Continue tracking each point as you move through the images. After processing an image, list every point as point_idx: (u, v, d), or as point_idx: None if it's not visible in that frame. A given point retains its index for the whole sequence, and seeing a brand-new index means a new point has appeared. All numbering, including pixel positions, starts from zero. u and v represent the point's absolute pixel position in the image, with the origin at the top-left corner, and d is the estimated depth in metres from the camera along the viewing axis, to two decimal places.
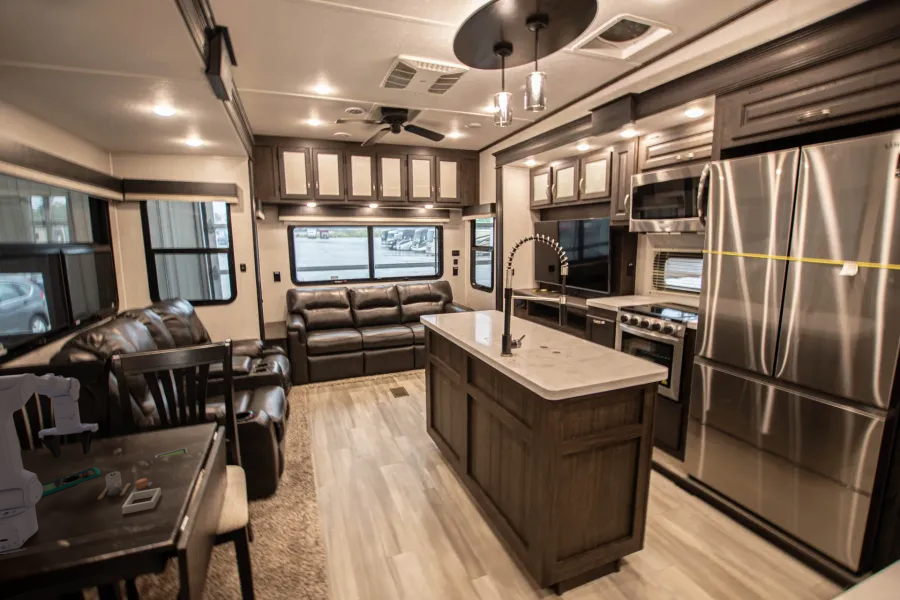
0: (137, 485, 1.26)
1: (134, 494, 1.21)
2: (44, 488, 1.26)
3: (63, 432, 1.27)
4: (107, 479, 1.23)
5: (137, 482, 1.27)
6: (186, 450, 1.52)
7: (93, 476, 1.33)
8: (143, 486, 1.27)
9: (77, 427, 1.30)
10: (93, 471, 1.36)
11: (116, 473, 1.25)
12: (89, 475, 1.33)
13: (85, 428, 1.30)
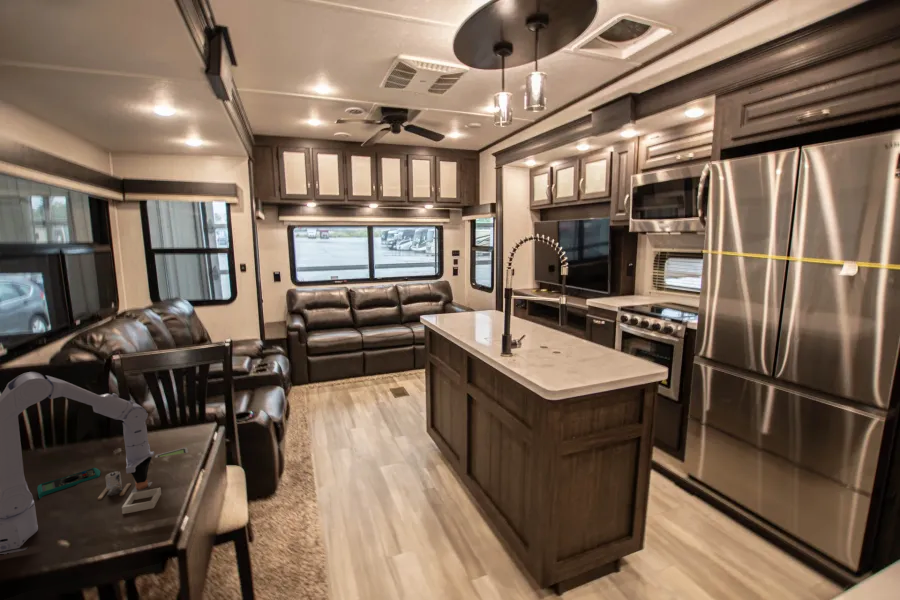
0: (137, 485, 1.26)
1: (134, 494, 1.21)
2: (44, 488, 1.27)
3: None
4: (107, 479, 1.23)
5: None
6: (186, 450, 1.52)
7: (92, 477, 1.32)
8: (143, 486, 1.27)
9: (131, 459, 1.23)
10: (93, 472, 1.35)
11: (116, 473, 1.25)
12: (88, 476, 1.33)
13: None
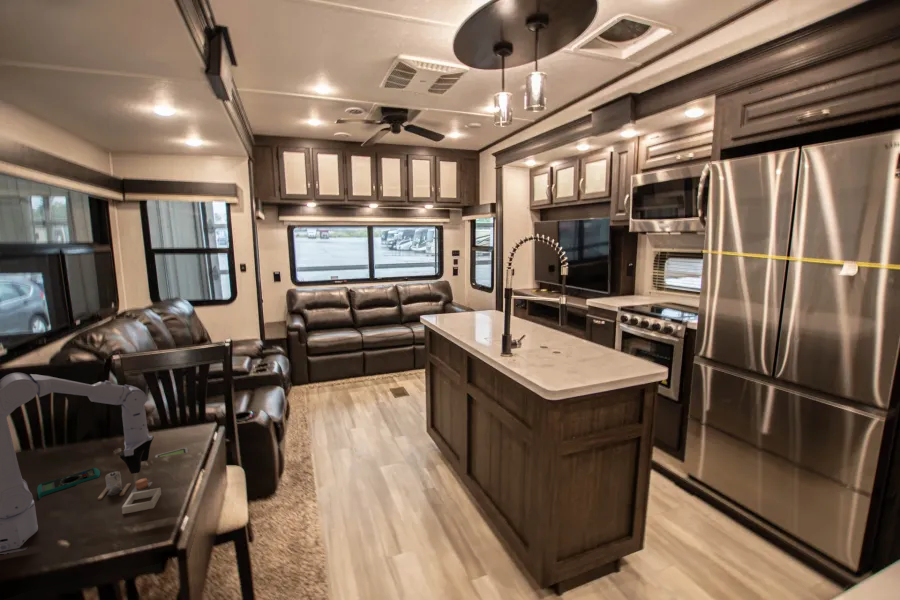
0: (137, 485, 1.26)
1: (134, 494, 1.21)
2: (43, 488, 1.27)
3: None
4: (107, 479, 1.23)
5: (137, 482, 1.27)
6: (186, 450, 1.52)
7: (91, 478, 1.32)
8: (143, 486, 1.27)
9: (129, 443, 1.23)
10: (93, 472, 1.35)
11: (116, 473, 1.25)
12: (88, 476, 1.33)
13: (125, 448, 1.20)
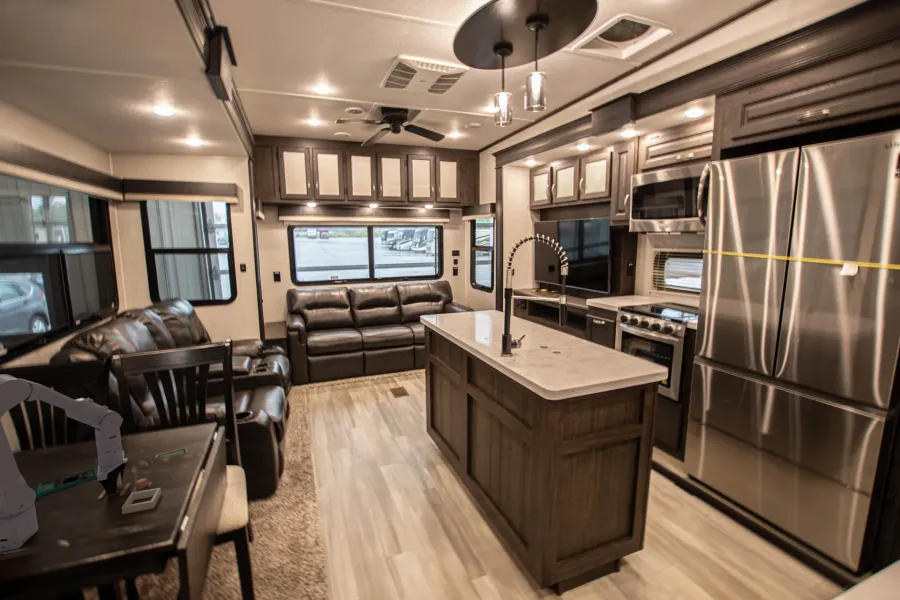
0: (137, 485, 1.26)
1: (134, 494, 1.21)
2: (43, 488, 1.27)
3: None
4: None
5: (137, 482, 1.27)
6: (186, 450, 1.52)
7: (91, 478, 1.32)
8: (143, 486, 1.27)
9: (103, 466, 1.21)
10: (92, 472, 1.35)
11: None
12: (87, 477, 1.32)
13: (98, 472, 1.19)
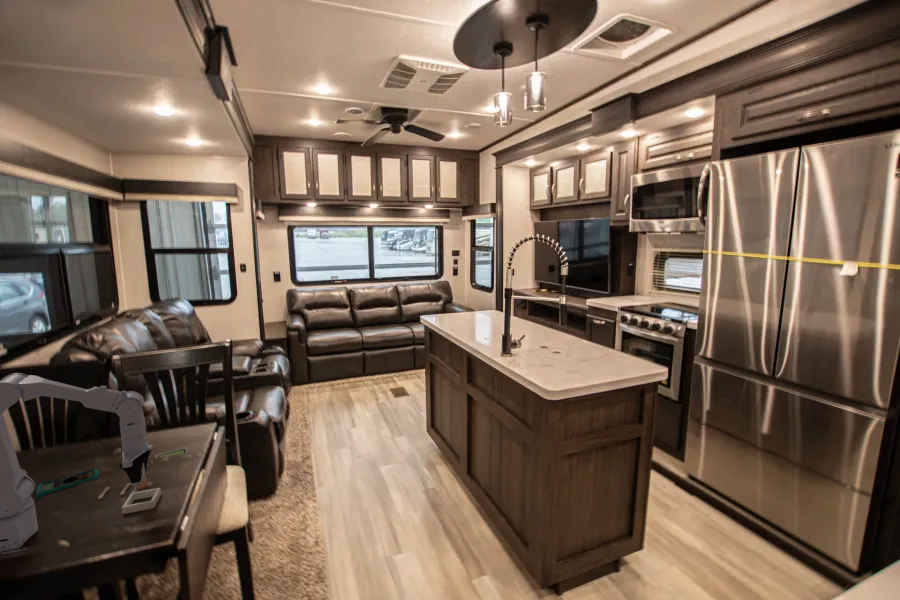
0: (137, 485, 1.26)
1: (134, 494, 1.21)
2: (43, 488, 1.27)
3: None
4: None
5: None
6: (186, 450, 1.52)
7: (90, 479, 1.31)
8: (143, 486, 1.27)
9: (127, 453, 1.15)
10: (92, 473, 1.35)
11: None
12: (87, 477, 1.32)
13: (123, 459, 1.12)
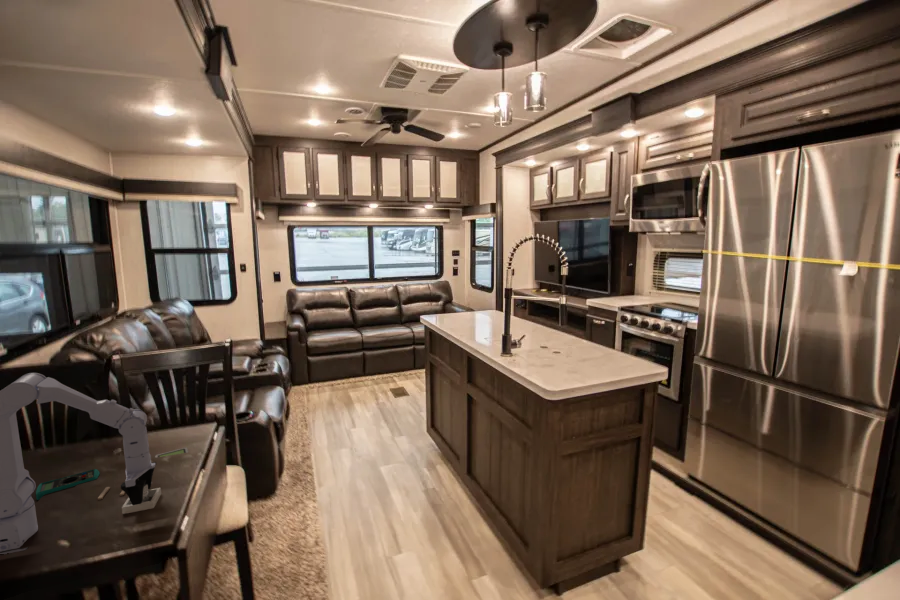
0: None
1: None
2: (43, 487, 1.27)
3: None
4: None
5: None
6: (186, 450, 1.52)
7: (89, 479, 1.31)
8: None
9: (131, 472, 1.15)
10: (92, 473, 1.34)
11: None
12: (86, 478, 1.32)
13: (126, 478, 1.13)
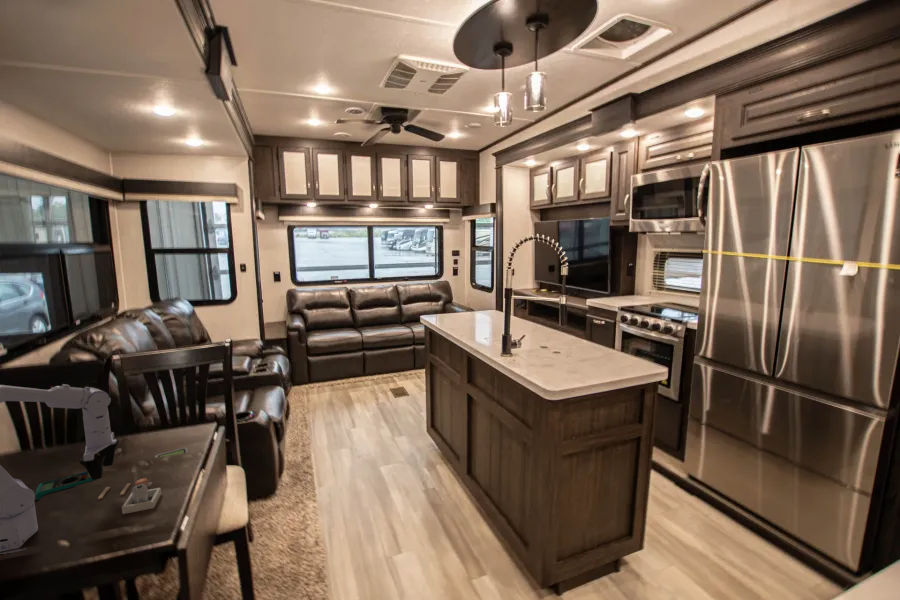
0: None
1: None
2: (42, 487, 1.27)
3: None
4: (133, 492, 1.17)
5: (137, 482, 1.27)
6: (186, 450, 1.52)
7: (88, 480, 1.31)
8: None
9: (90, 447, 1.17)
10: None
11: (143, 486, 1.19)
12: (86, 478, 1.31)
13: (85, 452, 1.15)
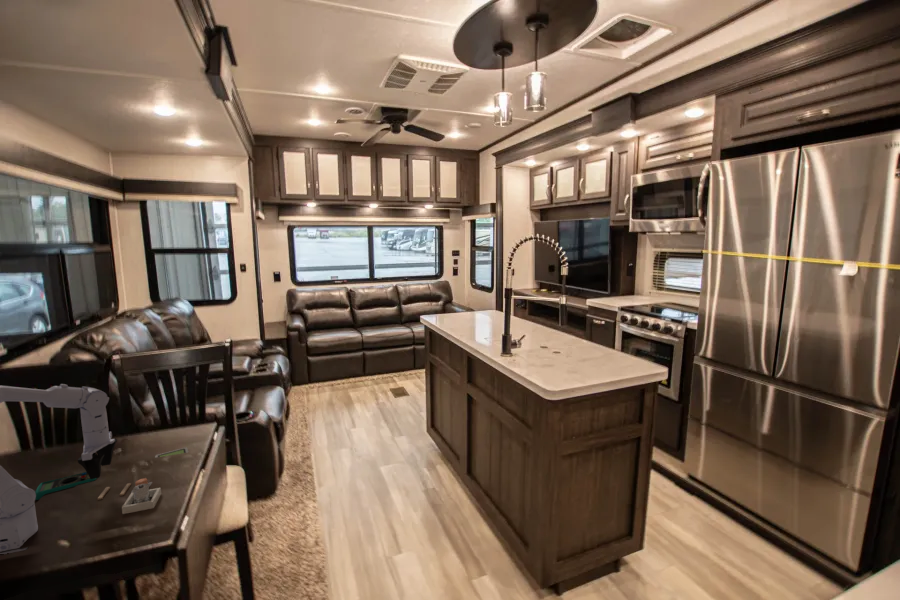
0: None
1: None
2: (42, 487, 1.27)
3: None
4: (134, 491, 1.17)
5: (137, 482, 1.27)
6: (186, 450, 1.52)
7: (88, 480, 1.30)
8: None
9: (88, 446, 1.17)
10: None
11: (144, 486, 1.19)
12: (85, 478, 1.31)
13: (83, 452, 1.15)
